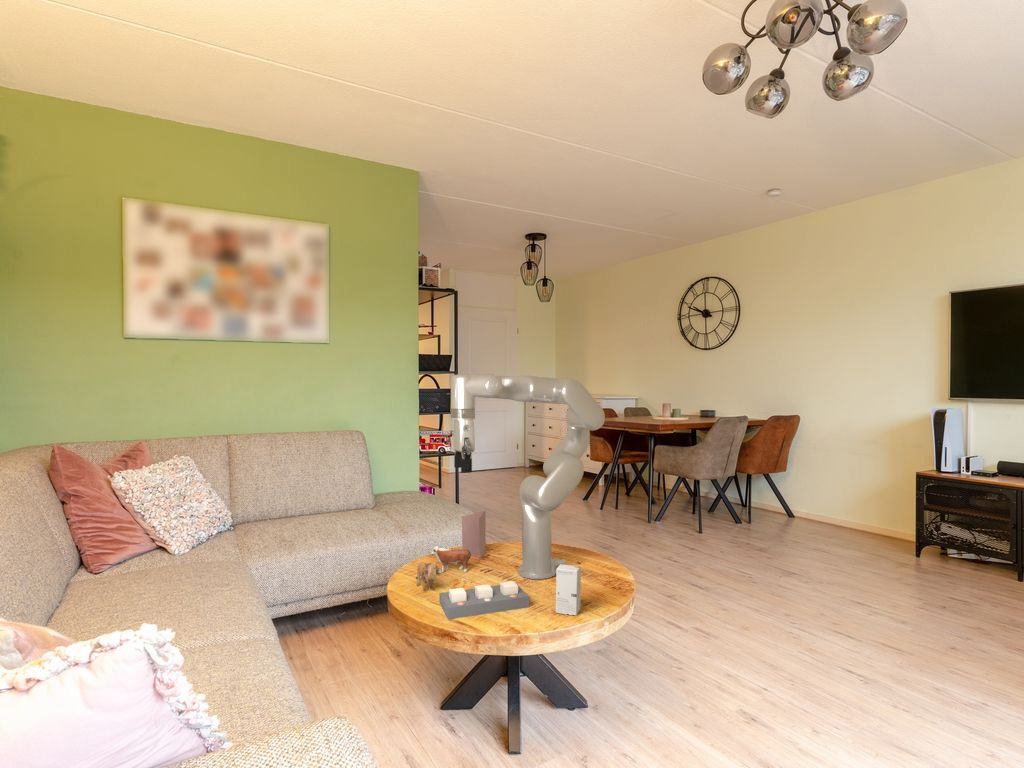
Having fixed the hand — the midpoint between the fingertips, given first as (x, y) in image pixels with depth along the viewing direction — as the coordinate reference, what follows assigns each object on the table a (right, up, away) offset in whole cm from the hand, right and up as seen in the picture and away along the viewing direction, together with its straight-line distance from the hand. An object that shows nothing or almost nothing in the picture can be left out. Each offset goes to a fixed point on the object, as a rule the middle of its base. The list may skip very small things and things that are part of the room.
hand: (462, 469), depth 174 cm
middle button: (+7, -34, -16) cm, 38 cm away
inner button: (+14, -34, -13) cm, 39 cm away
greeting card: (+4, -35, +27) cm, 45 cm away
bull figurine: (-5, -36, +13) cm, 38 cm away
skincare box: (+31, -36, -21) cm, 51 cm away
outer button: (0, -34, -18) cm, 39 cm away
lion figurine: (-11, -36, -2) cm, 38 cm away
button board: (+7, -36, -16) cm, 40 cm away
